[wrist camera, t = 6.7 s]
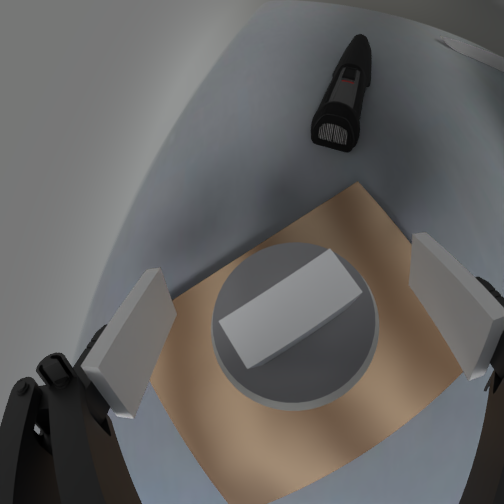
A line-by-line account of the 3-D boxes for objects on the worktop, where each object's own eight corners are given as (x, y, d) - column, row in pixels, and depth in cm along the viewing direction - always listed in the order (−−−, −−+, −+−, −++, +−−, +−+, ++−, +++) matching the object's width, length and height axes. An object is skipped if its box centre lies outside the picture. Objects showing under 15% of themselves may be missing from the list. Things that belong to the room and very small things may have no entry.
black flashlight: (377, 59, 25) (380, 36, 22) (354, 157, 21) (359, 128, 18) (344, 52, 26) (345, 29, 23) (307, 144, 22) (306, 115, 19)
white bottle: (310, 278, 17) (319, 145, 6) (359, 350, 15) (469, 334, 4) (236, 326, 17) (123, 270, 6) (283, 400, 15) (244, 489, 4)
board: (355, 189, 19) (357, 181, 18) (474, 351, 14) (482, 351, 13) (133, 331, 18) (126, 330, 17) (240, 507, 13) (237, 514, 12)
